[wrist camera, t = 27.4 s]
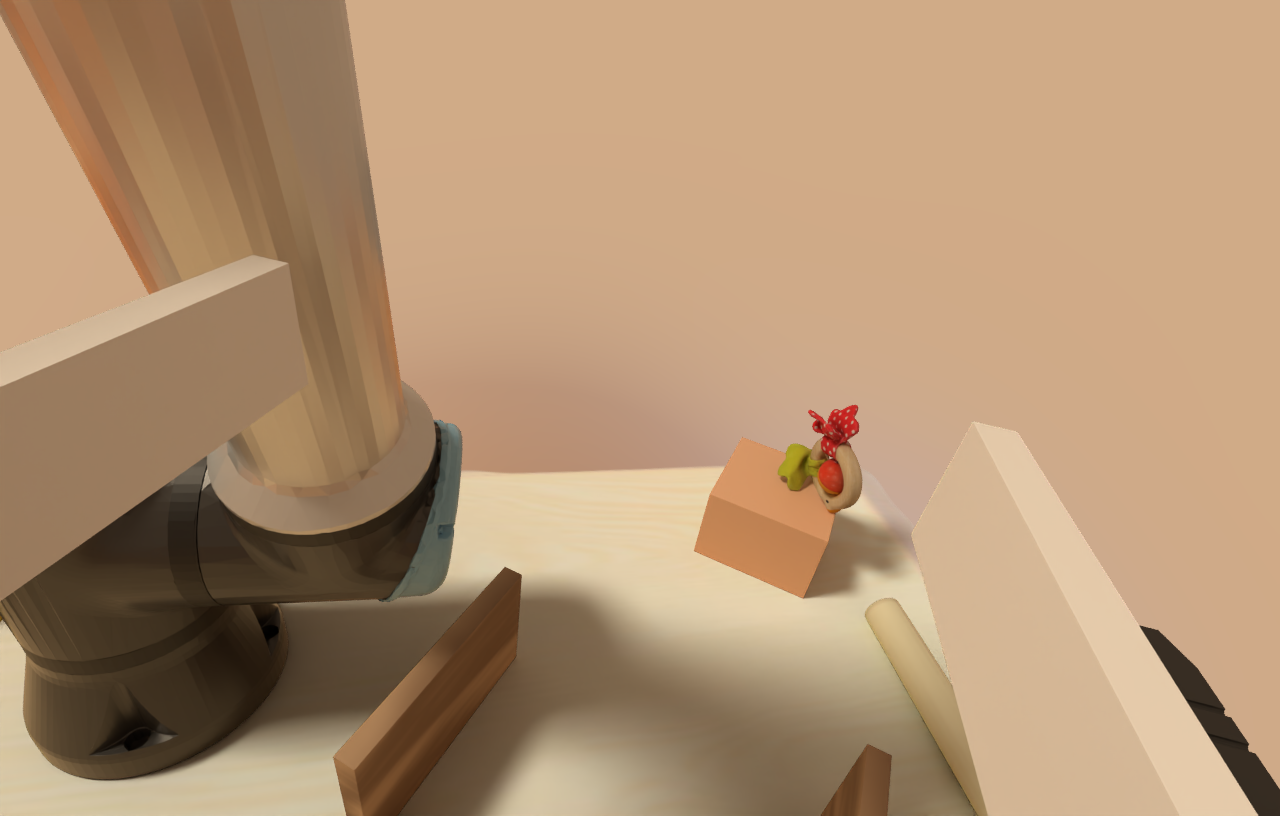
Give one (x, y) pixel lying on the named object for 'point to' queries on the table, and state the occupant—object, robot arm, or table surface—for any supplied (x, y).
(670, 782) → the table surface
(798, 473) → the bird rattle
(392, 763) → the walnut slot
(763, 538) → the terracotta stand
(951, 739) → the tan piece
